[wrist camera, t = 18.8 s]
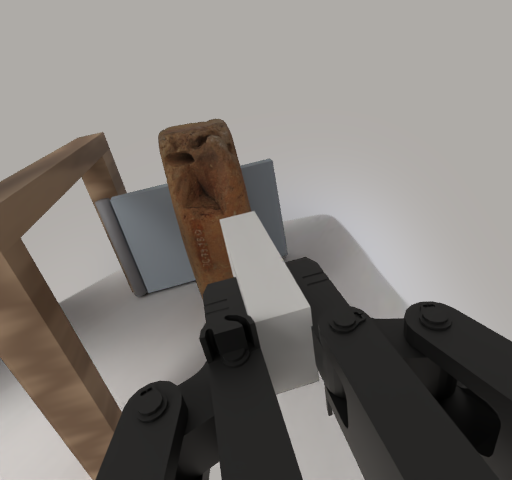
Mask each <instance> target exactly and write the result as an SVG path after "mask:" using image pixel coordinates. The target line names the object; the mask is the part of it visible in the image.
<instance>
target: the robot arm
mask: <svg viewBox="0 0 512 480" xmlns="http://www.w3.org/2000/svg"><path fill="white" fill-rule="evenodd" d="M220 224H221V228H222V232H223V236H224V240H225V244H226V248H227V253H228V257H229V261H230V265H231V269H232V273H233V276H234V277H233V278H229V279H226V280H222V281H218V282H214V283H211V284H207V286H206V289H205V291H204V293H203V302H204V310H205V318H206V324H205V325H204V327H203V328H202V330H201V333H200V342H201V345H202V348H203V350H204V353H205V356H206V359H207V361H206V363H205V364H204V366H203V367H202V368H201V370H200V371H199V372H198V373H196V374H195V375H194V376H192V377H191V378H189V379H188V380H186V381H185V382H183V383H181V384H180V385H178V386H177V385H175V384H173V383H172V382H169V381H158V382H154V383H150V384H148V385H146V386H144V387H143V388H141V389H139V390H138V391H137V392H136V393H135V394H134V395H133V396H132V397H131V398H130V399H129V400H128V402H127V404H126V406H125V407H124V409H123V411H122V414H121V416H120V419H119V421H118V424H117V426H116V429H115V431H114V434H113V436H112V439H111V441H110V444H109V447H108V449H107V452H106V454H105V457H104V459H103V462H102V464H101V467H100V469H99V472H98V474H97V477H96V479H95V480H209V473H210V468H211V467H212V466H214V465H215V464H216V463H218V462H219V461H220V469H221V477H222V480H303V479H302V475H301V472H300V469H299V466H298V463H297V460H296V457H295V454H294V450H293V447H292V444H291V441H290V438H289V435H288V432H287V429H286V425H285V422H284V419H283V416H282V413H281V410H280V407H279V403H278V400H277V397H276V394H279V393H282V392H285V391H289V390H292V389H295V388H298V387H301V386H305V385H308V384H311V383H314V382H317V381H319V375H318V371H319V373H320V375H321V377H322V379H323V381H324V385H325V394H326V403H327V410H328V415H329V416H330V415H333V414H332V410H333V412H334V414H335V417H336V419H337V421H338V423H339V425H340V427H341V429H342V432H343V434H344V436H345V438H346V440H347V442H348V444H349V446H350V449H351V451H352V453H353V455H354V457H355V459H356V461H357V464H358V466H359V468H360V470H361V472H362V474H363V476H364V479H365V480H512V342H511V341H510V340H508V339H506V338H505V337H503V336H501V335H499V334H498V333H496V332H494V331H492V330H491V329H489V328H487V327H486V326H484V325H482V324H480V323H479V322H477V321H475V320H473V319H472V318H470V317H468V316H466V315H465V314H463V313H461V312H460V311H458V310H456V309H454V308H452V307H450V306H447V305H445V304H442V303H436V302H419V303H416V304H413V305H411V306H410V307H409V308H408V309H407V310H406V313H405V316H404V318H401V319H374V318H370V317H369V316H368V315H367V314H366V313H365V312H364V311H362V310H360V309H358V308H355V307H351V306H349V304H348V303H347V302H346V300H345V299H344V298H343V296H342V295H341V294H340V293H339V291H338V290H337V289H336V287H335V286H334V285H333V283H332V282H331V281H330V280H329V278H328V277H327V275H326V274H325V273H324V272H323V270H322V269H321V267H320V266H319V265H318V263H316V262H315V261H313V260H311V259H309V258H307V257H304V258H300V259H296V260H293V261H289V262H284V261H283V259H282V257H281V256H280V254H279V252H278V250H277V249H276V247H275V245H274V244H273V242H272V240H271V238H270V237H269V235H268V233H267V232H266V230H265V228H264V227H263V225H262V223H261V221H260V220H259V218H258V216H257V215H256V213H255V211H252V212H248V213H244V214H240V215H236V216H232V217H228V218H224V219H220Z"/></svg>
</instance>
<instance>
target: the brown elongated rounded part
mask: <svg viewBox="0 0 512 480" xmlns="http://www.w3.org/2000/svg"><path fill="white" fill-rule="evenodd" d="M158 140H159V149H160V154H161V158H162V162H163V166H164V170H165V174H166V178H167V184H168V188H169V192H170V196H171V200H172V204H173V208H174V211H175V215H176V219H177V222H178V225H179V229H180V232H181V236H182V240H183V243H184V246H185V249H186V252H187V256H188V259H189V262H190V265H191V268H192V270H193V273H194V277H195V279H196V282H197V285H198V288H199V291H200V293H201V296H202V299H203V293H204V291H205V289H206V286H207V284H211V283H214V282H218V281H222V280H226V279H229V278H233V277H234V276H233V273H232V269H231V265H230V261H229V257H228V253H227V248H226V244H225V240H224V236H223V232H222V228H221V224H220V219H224V218H228V217H232V216H236V215H240V214H244V213H248V212H252V211H251V208H250V203H249V200H248V195H247V191H246V186H245V183H244V179H243V175H242V170H241V167H240V164H239V161H238V157H237V154H236V149H235V146H234V142H233V138H232V135H231V133H230V130H229V128H228V127H227V124H226V123H225V122H224V121H223V120H221V119H213V120H209V121H207V122H198V123H189V124H184V125H178V126H173V127H169V128H167V129H165V130H162V131H161V132H160V133H159V136H158Z"/></svg>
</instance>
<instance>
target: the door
mask: <svg viewBox="0 0 512 480" xmlns="http://www.w3.org/2000/svg"><path fill="white" fill-rule="evenodd" d="M240 167H241V170H242V175H243V179H244V183H245V186H246V191H247V195H248V200H249V203H250V208H251V211H255V213H256V215H257V216H258V218H259V220H260V221H261V223H262V225H263V227H264V228H265V230H266V232H267V233H268V235H269V237H270V238H271V240H272V242H273V244H274V245H275V247H276V249H277V250H278V252H279V254H280V256H284V255H288V252H287V246H286V240H285V234H284V228H283V222H282V216H281V211H280V210H281V209H280V204H279V198H278V191H277V185H276V179H275V173H274V167H273V161H272V160H271V159H266V160H262V161H258V162H254V163H250V164H246V165H242V166H240ZM95 205H96V207H97V209H98V211H99V214H100V216H101V218H102V221H103V223H104V225H105V227H106V230H107V232H108V234H109V236H110V239H111V241H112V243H113V246H114V248H115V250H116V252H117V255H118V257H119V259H120V262H121V264H122V266H123V268H124V271H125V273H126V275H127V277H128V280H129V282H130V284H131V287H132V289H133V291H134V293H135V296H142V295H144V294H146V293H147V290H148V293H151V292H154V291H158V290H161V289H165V288H169V287H172V286H176V285H179V284H183V283H187V282H190V281H194V280H196V279H195V277H194V273H193V270H192V268H191V265H190V262H189V259H188V256H187V252H186V249H185V246H184V243H183V240H182V236H181V232H180V229H179V225H178V222H177V219H176V215H175V211H174V208H173V204H172V200H171V196H170V192H169V188H168V184H164V185H159V186H155V187H151V188H147V189H143V190H139V191H135V192H130V193H126V194H122V195H118V196H114V197H112V198H111V200H110V199H109V198H104V199H100V200H98V201H96V202H95ZM130 249H131V250H130ZM135 261H136V262H135Z"/></svg>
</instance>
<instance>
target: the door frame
mask: <svg viewBox="0 0 512 480" xmlns="http://www.w3.org/2000/svg"><path fill="white" fill-rule="evenodd" d="M81 177H82V179H83V181H84V184H85V186H86V188H87V190H88V193H89V195H90V197H91V199H92V202H93V204H94V206H95V208H96V211H97V213H98V215H99V218H100V220H101V222H102V224H103V227H104V229H105V231H106V233H107V236H108V238H109V240H110V242H111V245H112V247H113V249H114V251H115V254H116V256H117V258H118V261H119V263H120V265H121V267H122V270H123V272H124V274H125V276H126V279H127V281H128V283H129V285H130V288H131V290H132V292H134V291H133V289H132V287H131V284H130V282H129V280H128V277H127V275H126V273H125V271H124V268H123V266H122V264H121V262H120V259H119V257H118V255H117V252H116V250H115V248H114V246H113V243H112V241H111V239H110V236H109V234H108V232H107V230H106V227H105V225H104V223H103V221H102V218H101V216H100V214H99V211H98V209H97V207H96V205H95V202H96V201H98V200H100V199H104V198H109V199H110V200H111V198H112V197H114V196H118V195H122V194H126V193H127V192H126V190H125V187H124V185H123V182H122V179H121V177H120V174H119V172H118V169H117V166H116V164H115V162H114V159H113V156H112V153H111V151H110V148H109V146H108V143H107V141H106V138H105V135H104V133H103V132H102V133H97V134H93V135H88V136H84V137H79V138H77V139H75V140H73V141H71V142H70V143H68V144H67V145H64V146H62V147H61V148H59V149H57V150H55V151H54V152H52V153H50V154H48V155H47V156H45V157H43V158H41V159H40V160H38V161H36V162H34V163H33V164H31V165H29V166H27V167H25V168H24V169H22V170H20V171H18V172H17V173H15V174H13V175H11V176H10V177H8V178H6V179H4V180H3V181H1V182H0V358H1V359H2V360H3V362H4V363H5V364H6V366H7V367H8V368H9V369H10V371H11V372H12V373H13V375H14V376H15V377H16V379H17V380H18V381H19V383H20V384H21V385H22V387H23V388H24V389H25V391H26V392H27V393H28V395H29V396H30V397H31V399H32V400H33V401H34V403H35V404H36V405H37V407H38V408H39V409H40V411H41V412H42V413H43V415H44V416H45V417H46V419H47V420H48V421H49V422H50V424H51V425H52V426H53V428H54V429H55V430H56V432H57V433H58V434H59V436H60V437H61V438H62V440H63V441H64V442H65V444H66V445H67V446H68V448H69V449H70V450H71V452H72V453H73V454H74V456H75V457H76V458H77V460H78V461H79V462H80V464H81V465H82V466H83V468H84V469H85V470H86V472H87V473H88V474H89V475H90V477H91V478H92V479H93V480H95V479H96V477H97V474H98V472H99V469H100V467H101V464H102V462H103V459H104V457H105V454H106V452H107V449H108V447H109V444H110V441H111V439H112V436H113V434H114V431H115V429H116V426H117V424H118V421H119V419H120V416H121V414H122V412H121V410H120V408H119V407H118V405H117V403H116V402H115V400H114V398H113V396H112V395H111V393H110V391H109V390H108V388H107V386H106V384H105V383H104V381H103V379H102V378H101V376H100V374H99V372H98V371H97V369H96V367H95V365H94V364H93V362H92V360H91V359H90V357H89V355H88V353H87V352H86V350H85V348H84V347H83V345H82V343H81V341H80V340H79V338H78V336H77V334H76V333H75V331H74V329H73V328H72V326H71V324H70V322H69V321H68V319H67V317H66V316H65V314H64V312H63V310H62V309H61V307H60V305H59V304H58V302H57V301H56V298H55V297H54V295H53V293H52V291H51V290H50V288H49V286H48V285H47V283H46V281H45V280H44V278H43V276H42V274H41V273H40V271H39V269H38V267H37V266H36V264H35V262H34V261H33V259H32V257H31V256H30V254H29V252H28V250H27V248H26V247H25V245H24V243H23V242H22V240H21V237H22V236H23V235H24V233H26V232H27V231H28V230H29V229H30V228H31V226H32V225H34V224H35V223H36V221H37V220H39V218H41V217H42V215H44V214H45V213H46V212H47V211H48V210H49V209H50V208H51V207H52V205H54V204H55V203H56V202H57V201H58V200H59V199H60V198H61V197H62V196H63V195H64V194H65V192H67V191H68V190H69V189H70V188H71V187H72V186H73V184H75V182H76V181H78V180H79V179H80V178H81ZM130 250H131V249H130ZM135 262H136V261H135Z"/></svg>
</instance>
